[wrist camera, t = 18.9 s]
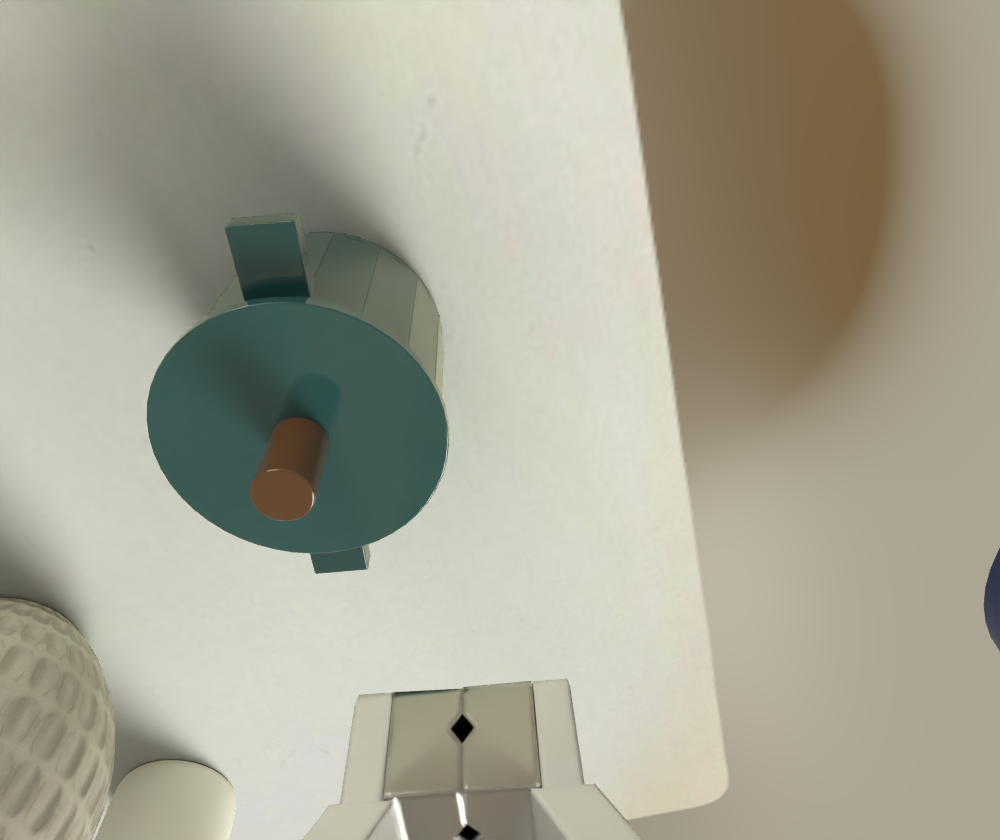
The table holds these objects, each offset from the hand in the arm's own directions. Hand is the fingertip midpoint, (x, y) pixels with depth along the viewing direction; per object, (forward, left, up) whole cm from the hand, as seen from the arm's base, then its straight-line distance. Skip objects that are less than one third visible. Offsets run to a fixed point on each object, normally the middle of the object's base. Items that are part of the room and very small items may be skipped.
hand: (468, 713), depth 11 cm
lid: (+7, +6, -18) cm, 20 cm away
